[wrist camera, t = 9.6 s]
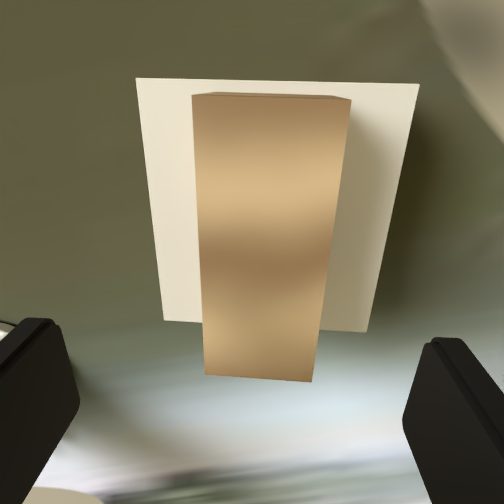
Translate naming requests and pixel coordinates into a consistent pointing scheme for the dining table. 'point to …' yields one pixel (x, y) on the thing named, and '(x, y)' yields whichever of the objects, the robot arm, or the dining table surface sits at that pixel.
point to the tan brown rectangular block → (265, 226)
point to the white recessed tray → (348, 204)
